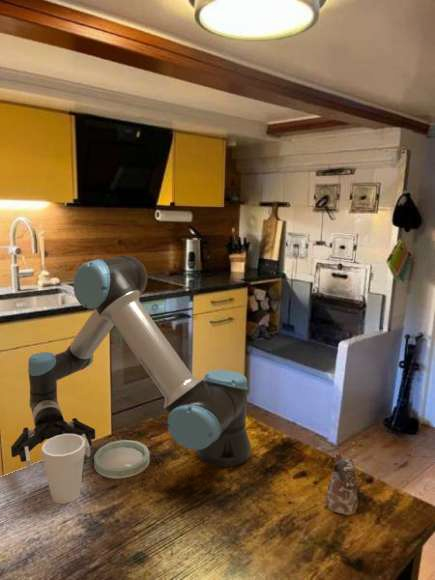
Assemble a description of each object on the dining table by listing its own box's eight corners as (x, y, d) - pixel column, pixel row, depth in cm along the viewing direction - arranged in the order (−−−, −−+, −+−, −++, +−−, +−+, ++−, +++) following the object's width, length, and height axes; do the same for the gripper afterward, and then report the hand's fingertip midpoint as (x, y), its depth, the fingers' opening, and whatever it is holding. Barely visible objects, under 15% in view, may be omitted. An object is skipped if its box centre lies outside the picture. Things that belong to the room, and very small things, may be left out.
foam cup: (73, 511, 96) (71, 459, 93) (36, 505, 97) (33, 453, 95) (94, 485, 105) (92, 436, 102) (59, 479, 107) (57, 431, 104)
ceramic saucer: (160, 459, 116) (160, 452, 116) (119, 486, 105) (119, 478, 104) (124, 440, 124) (124, 434, 124) (82, 463, 113) (82, 456, 113)
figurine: (339, 518, 96) (344, 470, 94) (319, 498, 102) (323, 453, 100) (363, 509, 99) (368, 462, 97) (342, 491, 105) (346, 446, 103)
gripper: (93, 421, 128) (111, 459, 110) (0, 441, 117) (2, 486, 99) (92, 398, 127) (111, 432, 109) (-2, 415, 115) (0, 457, 97)
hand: (59, 458), depth 104 cm, fingers open, 13 cm apart
